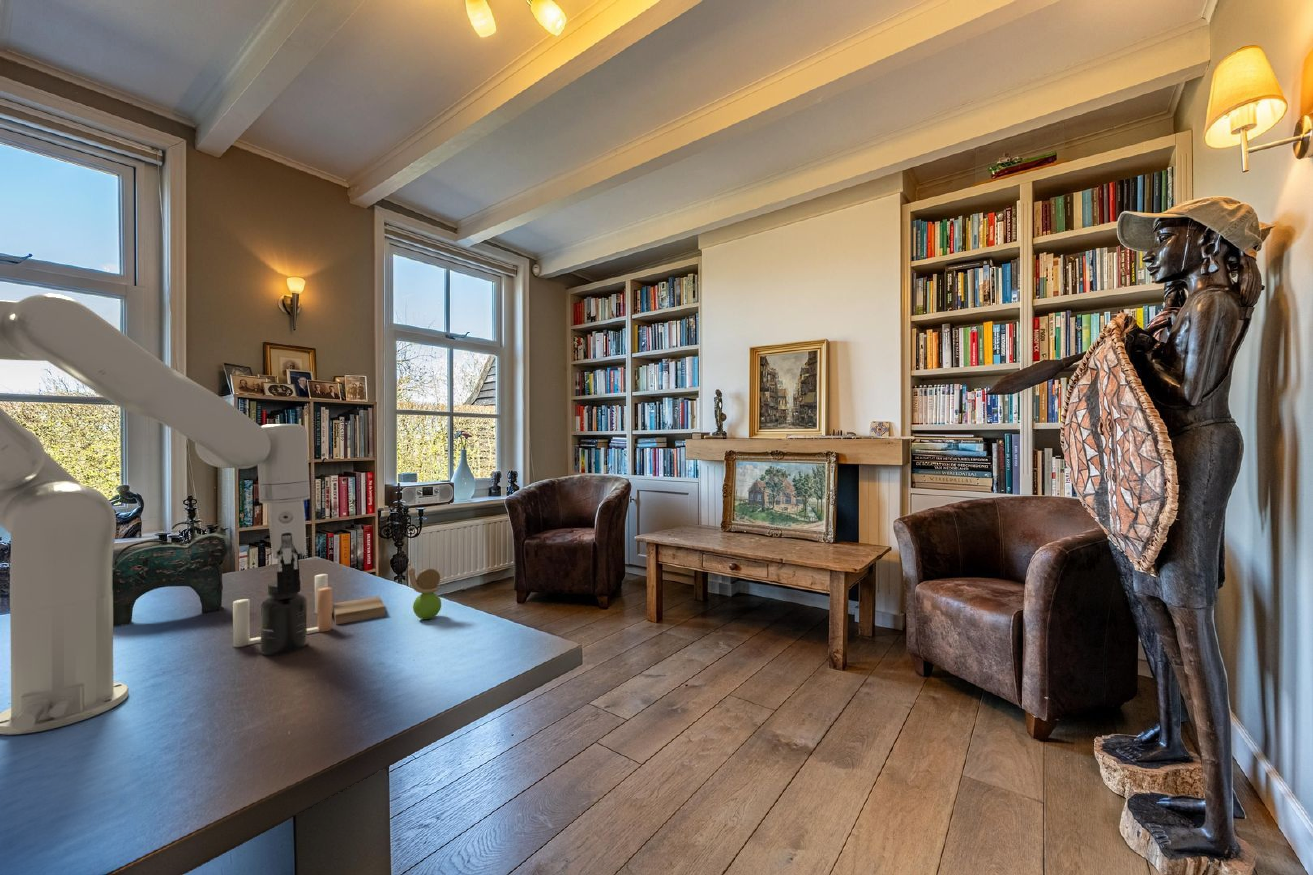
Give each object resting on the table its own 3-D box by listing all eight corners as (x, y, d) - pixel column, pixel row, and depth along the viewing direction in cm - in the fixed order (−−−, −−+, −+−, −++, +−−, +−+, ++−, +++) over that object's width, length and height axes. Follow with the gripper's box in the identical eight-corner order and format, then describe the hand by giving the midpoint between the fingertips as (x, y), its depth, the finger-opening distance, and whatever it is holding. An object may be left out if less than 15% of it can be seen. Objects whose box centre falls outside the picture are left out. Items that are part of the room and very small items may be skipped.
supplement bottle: (253, 658, 91) (252, 588, 91) (270, 643, 98) (270, 578, 98) (299, 653, 93) (298, 585, 93) (312, 639, 100) (312, 575, 100)
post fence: (332, 629, 105) (332, 589, 105) (232, 648, 96) (232, 603, 96) (327, 609, 117) (327, 573, 117) (239, 623, 109) (238, 584, 109)
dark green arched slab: (231, 603, 122) (230, 516, 122) (230, 611, 117) (229, 520, 117) (109, 622, 110) (108, 525, 110) (101, 631, 105) (100, 530, 105)
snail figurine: (407, 617, 112) (407, 560, 112) (440, 612, 115) (440, 557, 115) (407, 625, 107) (407, 565, 107) (442, 620, 110) (441, 562, 110)
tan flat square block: (385, 615, 113) (385, 606, 113) (335, 624, 108) (335, 614, 108) (379, 605, 120) (379, 596, 120) (332, 612, 115) (332, 603, 115)
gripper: (311, 494, 91) (315, 594, 91) (308, 486, 105) (312, 572, 105) (256, 499, 86) (261, 603, 87) (260, 490, 101) (265, 579, 101)
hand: (289, 586), depth 96 cm, fingers open, 9 cm apart
